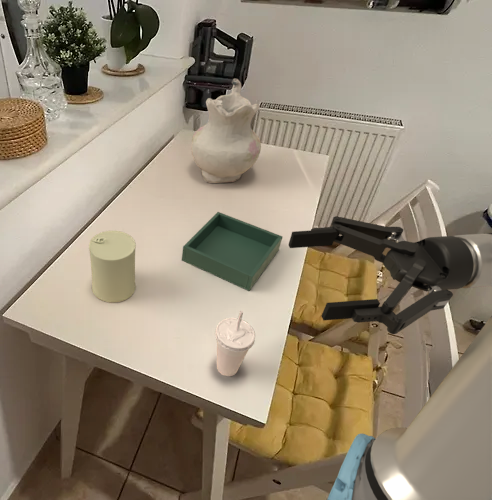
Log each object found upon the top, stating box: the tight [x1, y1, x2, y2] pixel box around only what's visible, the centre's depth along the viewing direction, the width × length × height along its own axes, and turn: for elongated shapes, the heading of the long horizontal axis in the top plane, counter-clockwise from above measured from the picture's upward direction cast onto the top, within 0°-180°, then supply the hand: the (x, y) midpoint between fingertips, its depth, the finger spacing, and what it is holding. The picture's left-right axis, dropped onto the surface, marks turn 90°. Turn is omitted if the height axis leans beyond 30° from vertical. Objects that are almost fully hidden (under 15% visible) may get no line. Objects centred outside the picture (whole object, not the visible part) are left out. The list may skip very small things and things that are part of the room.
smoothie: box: [214, 310, 256, 377], centre depth 71 cm, size 6×6×14 cm
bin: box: [181, 211, 283, 292], centre depth 98 cm, size 17×17×4 cm
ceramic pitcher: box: [190, 77, 262, 184], centre depth 120 cm, size 22×20×25 cm
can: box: [88, 230, 137, 303], centre depth 87 cm, size 9×9×12 cm
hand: (306, 272), depth 60 cm, fingers open, 13 cm apart
